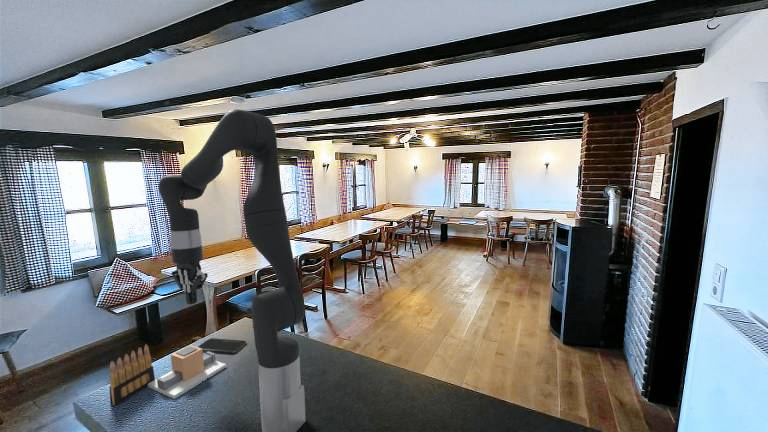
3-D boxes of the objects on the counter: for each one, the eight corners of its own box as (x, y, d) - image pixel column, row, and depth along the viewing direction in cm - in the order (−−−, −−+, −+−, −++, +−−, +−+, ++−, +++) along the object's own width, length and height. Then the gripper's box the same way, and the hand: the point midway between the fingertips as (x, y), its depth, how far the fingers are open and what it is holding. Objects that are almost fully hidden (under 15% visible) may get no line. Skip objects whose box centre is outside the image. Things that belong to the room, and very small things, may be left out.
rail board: (226, 367, 100) (225, 356, 100) (174, 398, 86) (173, 386, 86) (200, 358, 105) (199, 348, 105) (148, 387, 91) (146, 375, 91)
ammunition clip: (115, 406, 83) (110, 363, 82) (110, 405, 84) (105, 362, 83) (155, 381, 94) (151, 343, 92) (150, 380, 94) (147, 342, 93)
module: (204, 370, 97) (202, 347, 96) (184, 381, 92) (182, 357, 91) (192, 366, 99) (190, 343, 99) (172, 377, 94) (170, 353, 93)
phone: (234, 352, 107) (194, 349, 110) (234, 355, 108) (194, 352, 110) (247, 340, 115) (210, 337, 118) (247, 343, 115) (210, 340, 118)
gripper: (214, 244, 92) (218, 301, 94) (184, 241, 98) (189, 296, 100) (189, 249, 86) (195, 311, 87) (158, 246, 91) (164, 304, 93)
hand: (191, 303), depth 94 cm, fingers closed
